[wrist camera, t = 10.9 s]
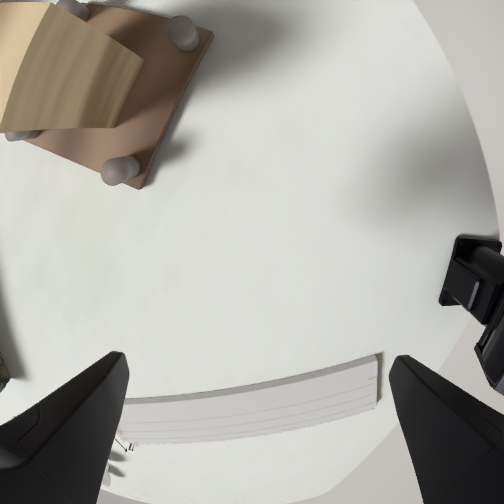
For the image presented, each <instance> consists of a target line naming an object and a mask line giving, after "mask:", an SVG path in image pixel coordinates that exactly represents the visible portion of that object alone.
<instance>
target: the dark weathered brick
mask: <svg viewBox="0 0 504 504" xmlns="http://www.w3.org/2000/svg"><path fill="white" fill-rule="evenodd" d="M9 381H10V376H9V374H8V371H7V369H6V367H5V364H4V362H3V359H2V356H1V354H0V392H1V391H2V390H3V389H4V388H5V386H6V384H7V383H8V382H9Z"/></svg>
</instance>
